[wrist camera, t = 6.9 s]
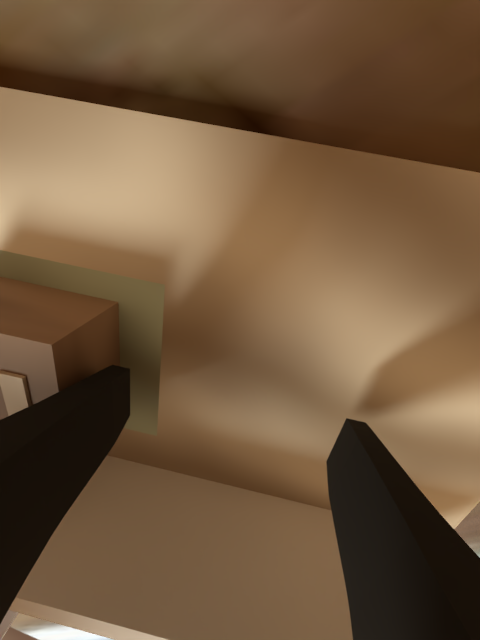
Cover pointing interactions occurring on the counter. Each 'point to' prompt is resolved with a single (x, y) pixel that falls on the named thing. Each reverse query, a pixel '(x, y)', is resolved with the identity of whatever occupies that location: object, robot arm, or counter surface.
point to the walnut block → (51, 341)
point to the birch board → (258, 291)
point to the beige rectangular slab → (188, 562)
